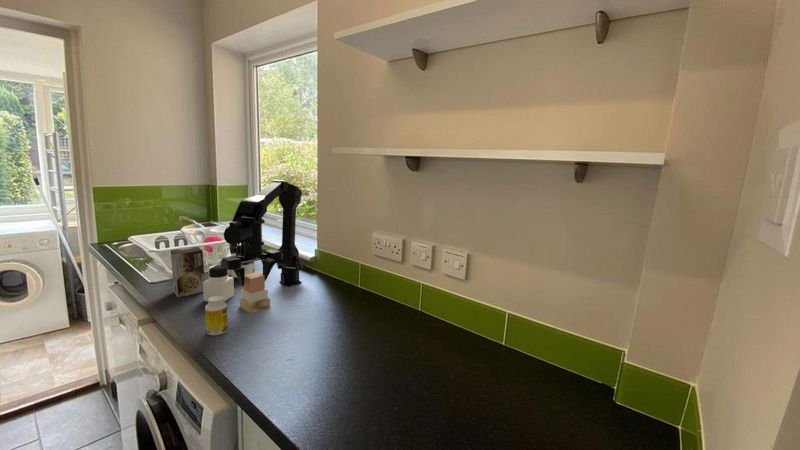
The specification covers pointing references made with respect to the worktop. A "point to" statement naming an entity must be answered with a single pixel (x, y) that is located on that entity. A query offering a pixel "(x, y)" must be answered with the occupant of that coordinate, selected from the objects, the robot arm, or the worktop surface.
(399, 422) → the worktop surface
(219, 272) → the medicine bottle
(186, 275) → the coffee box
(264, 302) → the oak base block
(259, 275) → the terracotta block
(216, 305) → the supplement bottle
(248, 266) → the spread jar
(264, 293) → the cream block
